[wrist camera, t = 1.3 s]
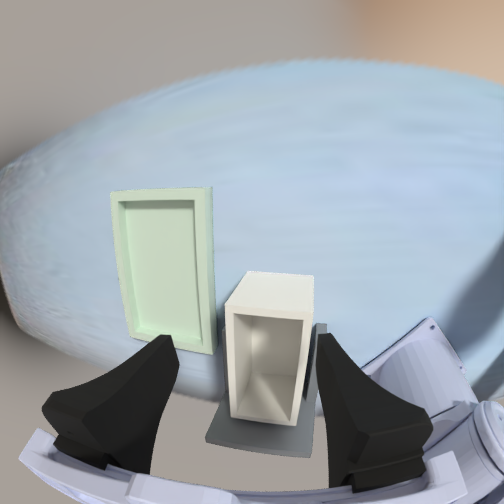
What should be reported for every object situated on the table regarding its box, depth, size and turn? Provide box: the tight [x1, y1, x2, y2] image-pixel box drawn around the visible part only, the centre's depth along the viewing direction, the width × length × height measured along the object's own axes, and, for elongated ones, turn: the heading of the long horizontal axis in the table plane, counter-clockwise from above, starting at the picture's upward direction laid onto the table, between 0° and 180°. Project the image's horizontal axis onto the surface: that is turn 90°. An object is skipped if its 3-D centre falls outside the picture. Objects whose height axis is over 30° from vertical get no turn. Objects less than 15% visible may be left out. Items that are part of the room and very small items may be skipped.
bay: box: [205, 323, 327, 458], centre depth 19 cm, size 7×8×8 cm
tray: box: [110, 187, 218, 355], centre depth 22 cm, size 14×9×2 cm, turn 179°
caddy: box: [225, 271, 314, 426], centre depth 19 cm, size 10×5×6 cm, turn 179°
